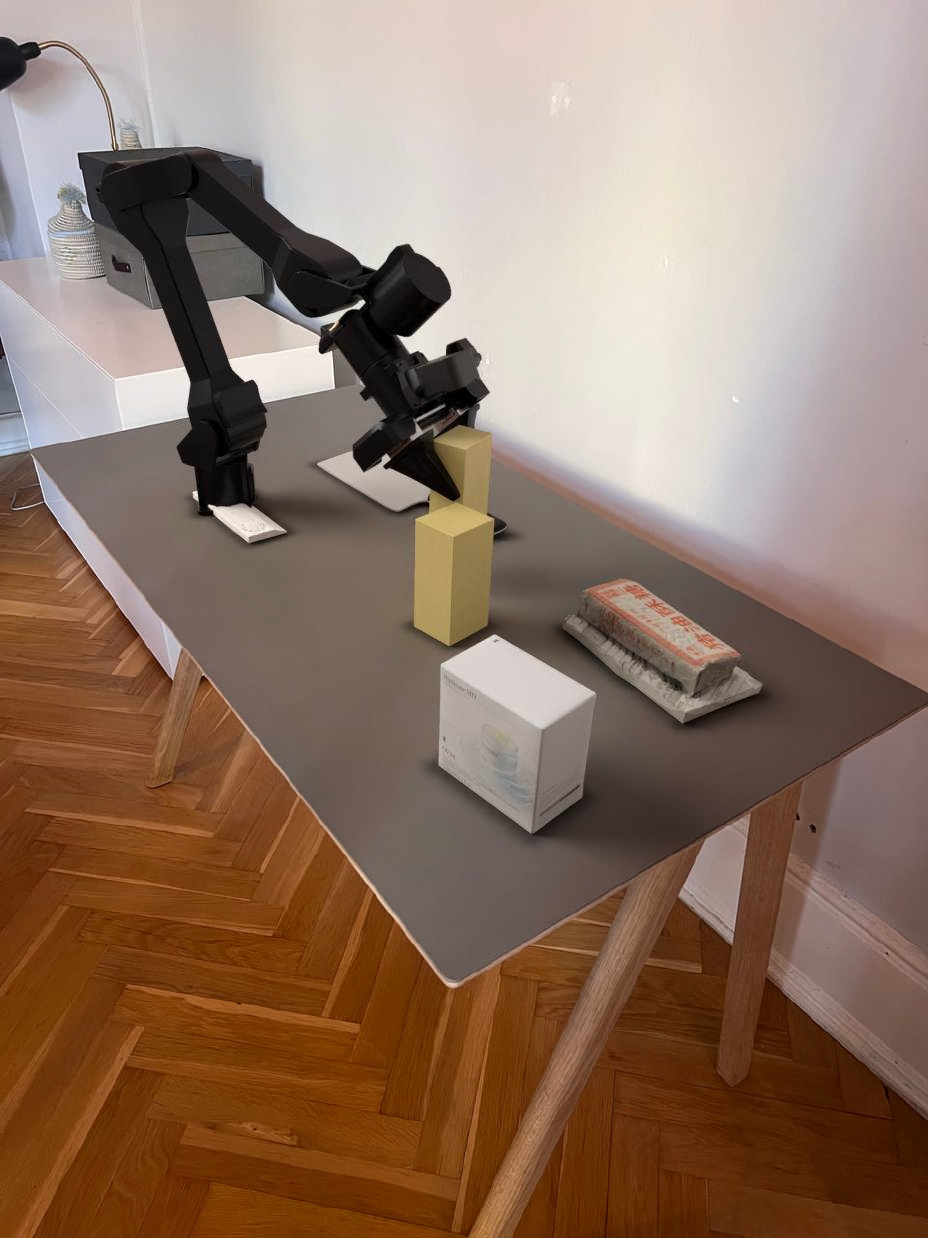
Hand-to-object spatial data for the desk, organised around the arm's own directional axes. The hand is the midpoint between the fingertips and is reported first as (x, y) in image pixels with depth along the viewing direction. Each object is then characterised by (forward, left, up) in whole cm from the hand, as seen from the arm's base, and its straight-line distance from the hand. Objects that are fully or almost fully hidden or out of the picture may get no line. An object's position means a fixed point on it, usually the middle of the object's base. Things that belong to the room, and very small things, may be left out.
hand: (471, 489), depth 94 cm
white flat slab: (-25, +19, -11) cm, 33 cm away
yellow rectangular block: (-1, +1, -7) cm, 7 cm away
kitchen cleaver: (-3, +22, -11) cm, 25 cm away
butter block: (-3, -9, -11) cm, 15 cm away
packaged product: (+15, -18, -11) cm, 26 cm away
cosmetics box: (-3, -33, -11) cm, 35 cm away
